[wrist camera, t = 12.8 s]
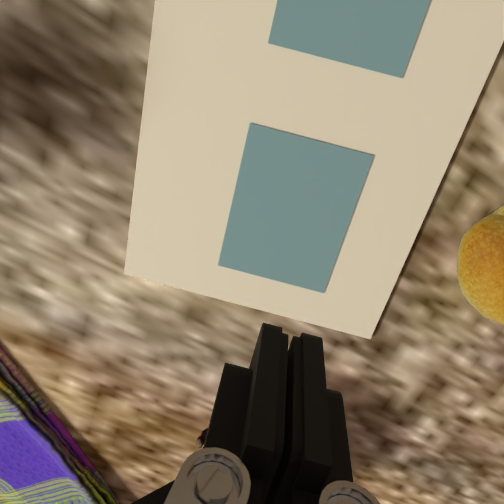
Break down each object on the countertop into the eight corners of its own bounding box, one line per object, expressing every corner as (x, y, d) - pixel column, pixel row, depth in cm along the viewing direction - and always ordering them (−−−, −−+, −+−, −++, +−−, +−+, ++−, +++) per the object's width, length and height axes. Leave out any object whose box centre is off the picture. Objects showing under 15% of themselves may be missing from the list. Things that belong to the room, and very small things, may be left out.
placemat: (193, -312, 16) (191, -321, 16) (610, -204, 16) (617, -211, 16) (125, 272, 28) (123, 274, 27) (369, 336, 28) (370, 340, 27)
